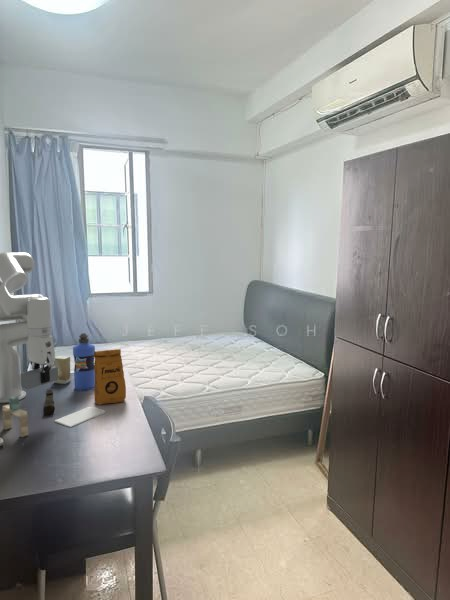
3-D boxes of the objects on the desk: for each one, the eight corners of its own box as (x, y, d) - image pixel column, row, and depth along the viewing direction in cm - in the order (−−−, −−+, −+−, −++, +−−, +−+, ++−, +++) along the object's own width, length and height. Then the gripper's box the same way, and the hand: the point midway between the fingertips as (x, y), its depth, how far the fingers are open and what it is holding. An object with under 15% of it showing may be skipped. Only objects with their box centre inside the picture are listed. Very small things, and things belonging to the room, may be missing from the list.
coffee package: (127, 403, 166) (126, 351, 163) (95, 407, 162) (93, 354, 159) (124, 395, 175) (123, 345, 172) (93, 399, 171) (92, 348, 168)
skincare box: (53, 383, 190) (52, 357, 188) (58, 380, 194) (57, 355, 192) (66, 384, 189) (65, 358, 187) (71, 381, 193) (70, 356, 191)
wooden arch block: (3, 428, 142) (1, 395, 140) (9, 426, 143) (7, 393, 142) (22, 437, 136) (20, 402, 134) (28, 434, 137) (26, 400, 136)
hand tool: (54, 415, 155) (54, 403, 154) (43, 416, 153) (43, 404, 153) (57, 397, 172) (56, 387, 172) (46, 398, 171) (46, 388, 170)
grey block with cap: (21, 386, 142) (20, 372, 142) (54, 377, 153) (53, 364, 153) (27, 389, 140) (27, 375, 140) (60, 379, 151) (60, 366, 151)
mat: (54, 421, 148) (54, 420, 148) (90, 407, 162) (90, 406, 162) (70, 427, 143) (70, 426, 143) (105, 412, 157) (105, 411, 157)
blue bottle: (80, 383, 189) (78, 331, 186) (99, 384, 188) (98, 332, 185) (70, 390, 180) (68, 335, 177) (90, 391, 179) (88, 336, 176)
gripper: (63, 333, 143) (65, 382, 146) (35, 326, 152) (37, 373, 154) (44, 337, 137) (46, 388, 139) (15, 330, 145) (18, 379, 148)
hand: (41, 380), depth 147 cm, fingers closed on grey block with cap, 4 cm apart
